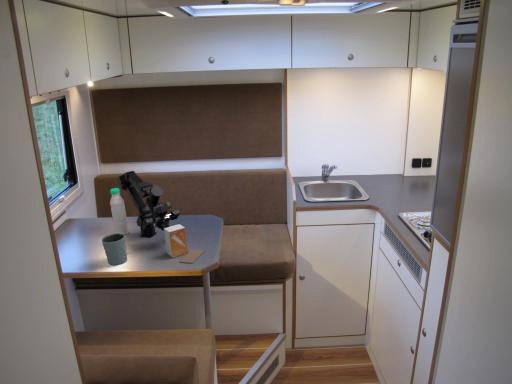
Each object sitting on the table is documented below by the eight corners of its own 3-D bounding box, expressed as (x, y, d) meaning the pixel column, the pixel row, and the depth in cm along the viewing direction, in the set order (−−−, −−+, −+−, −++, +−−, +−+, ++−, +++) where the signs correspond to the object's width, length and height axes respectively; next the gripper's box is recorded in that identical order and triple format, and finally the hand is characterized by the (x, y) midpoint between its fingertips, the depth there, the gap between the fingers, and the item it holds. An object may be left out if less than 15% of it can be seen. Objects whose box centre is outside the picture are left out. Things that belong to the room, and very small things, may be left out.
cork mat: (179, 262, 195) (179, 261, 195) (191, 250, 206) (191, 249, 206) (192, 263, 193) (192, 262, 193) (204, 251, 204) (204, 250, 204)
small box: (172, 258, 200) (168, 232, 196) (166, 253, 205) (163, 228, 201) (188, 253, 204) (185, 227, 200) (182, 248, 209) (179, 223, 205)
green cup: (132, 257, 204) (128, 233, 200) (121, 267, 194) (117, 242, 191) (113, 256, 206) (109, 232, 203) (101, 266, 197) (96, 242, 193)
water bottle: (119, 237, 228) (111, 191, 221) (113, 233, 233) (105, 189, 226) (131, 233, 233) (124, 188, 225) (125, 229, 238) (118, 186, 230)
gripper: (140, 203, 201) (155, 231, 196) (176, 193, 212) (190, 219, 207) (136, 215, 209) (149, 242, 204) (170, 205, 220) (184, 230, 215)
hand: (169, 233), depth 207 cm, fingers closed
